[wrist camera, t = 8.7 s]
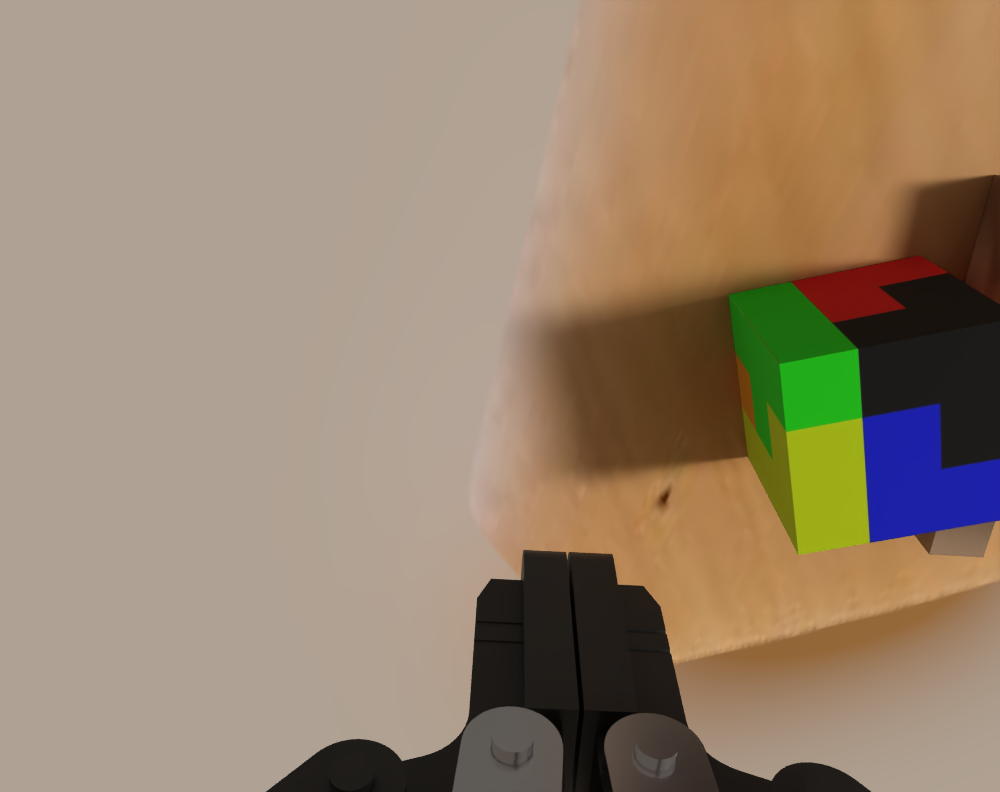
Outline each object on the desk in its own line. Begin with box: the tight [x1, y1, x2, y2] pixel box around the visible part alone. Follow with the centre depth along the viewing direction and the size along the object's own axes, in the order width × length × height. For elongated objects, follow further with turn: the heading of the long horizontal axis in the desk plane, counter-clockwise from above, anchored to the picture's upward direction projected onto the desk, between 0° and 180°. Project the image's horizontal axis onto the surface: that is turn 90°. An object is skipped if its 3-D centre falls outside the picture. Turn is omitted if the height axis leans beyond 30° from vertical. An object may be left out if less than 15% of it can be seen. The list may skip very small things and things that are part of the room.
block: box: [915, 175, 1000, 557], centre depth 46 cm, size 20×3×4 cm, turn 177°
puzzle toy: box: [728, 256, 1000, 555], centre depth 44 cm, size 10×10×10 cm
